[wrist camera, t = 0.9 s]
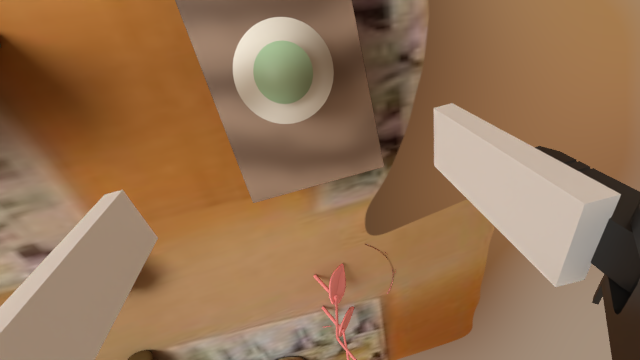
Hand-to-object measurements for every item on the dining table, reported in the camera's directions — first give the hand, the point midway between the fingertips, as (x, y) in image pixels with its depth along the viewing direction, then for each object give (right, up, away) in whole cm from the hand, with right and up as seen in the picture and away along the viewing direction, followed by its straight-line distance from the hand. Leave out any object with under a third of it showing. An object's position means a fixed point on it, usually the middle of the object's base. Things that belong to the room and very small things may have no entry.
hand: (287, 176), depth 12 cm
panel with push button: (-2, +10, +15) cm, 18 cm away
